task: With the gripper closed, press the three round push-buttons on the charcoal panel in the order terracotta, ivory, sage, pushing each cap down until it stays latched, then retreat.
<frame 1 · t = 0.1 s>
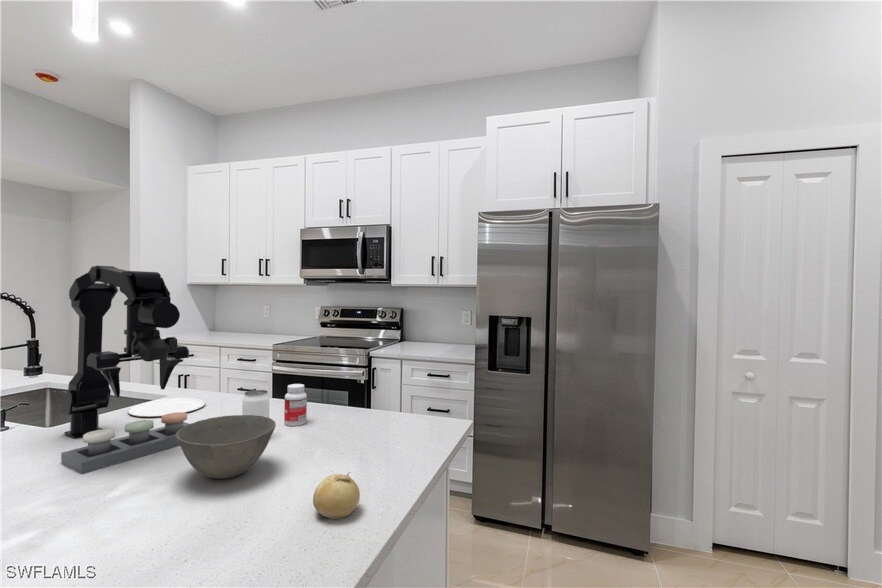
hand: (140, 392, 98), 15 cm above the counter, fingers open, 9 cm apart
onion: (336, 513, 75), on the counter
sage button: (139, 432, 101), point 4 cm above the counter, slide at 0.0 cm
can: (255, 438, 111), on the counter
bowl: (227, 475, 89), on the counter
plate: (168, 410, 135), on the counter
panel: (139, 449, 101), on the counter
terracotta button: (174, 423, 108), point 4 cm above the counter, slide at 0.0 cm
pill bottle: (295, 423, 123), on the counter
ivory button: (99, 442, 94), point 4 cm above the counter, slide at 0.0 cm
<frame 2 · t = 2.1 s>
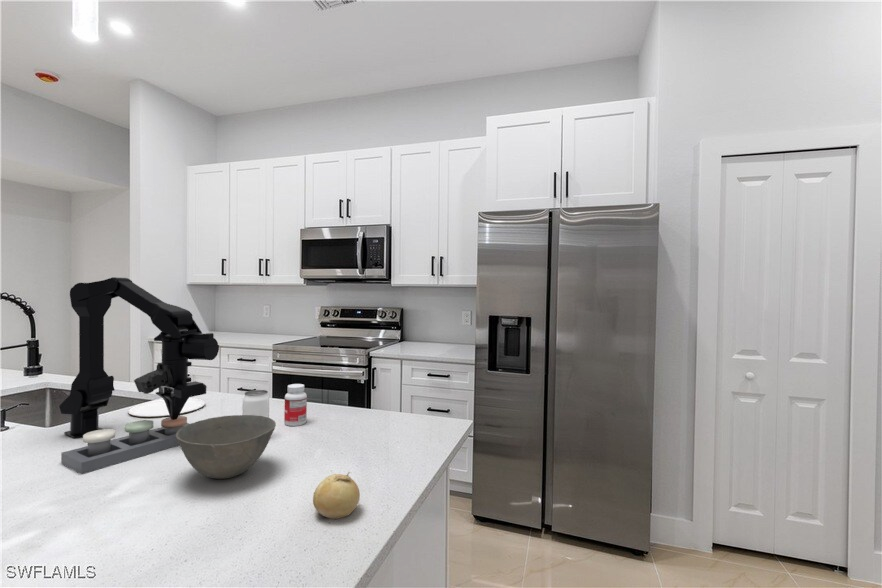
hand: (174, 419, 108), 5 cm above the counter, fingers closed, pressing on terracotta button
terracotta button: (174, 427, 108), point 3 cm above the counter, slide at 1.0 cm, touching gripper
everything else where it was.
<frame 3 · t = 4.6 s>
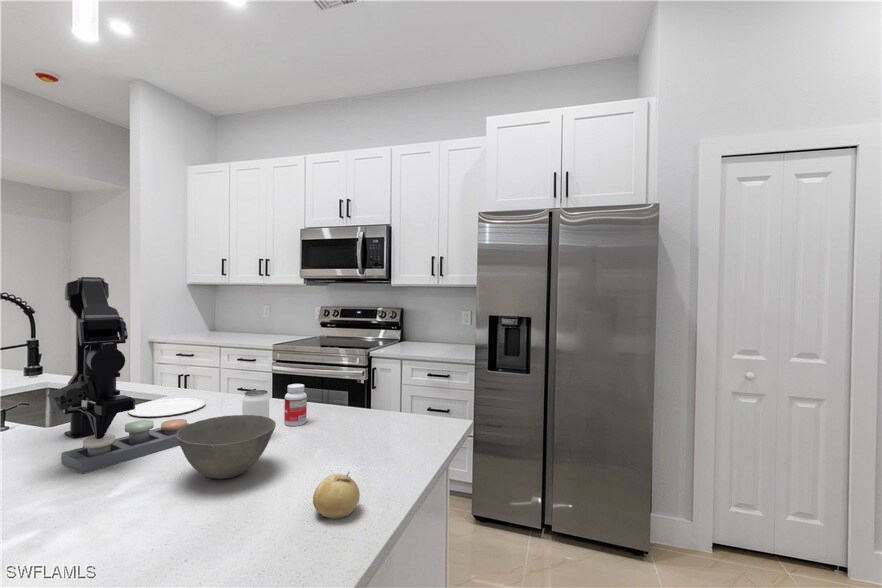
hand: (99, 438, 94), 5 cm above the counter, fingers closed, pressing on ivory button
terracotta button: (174, 430, 108), point 2 cm above the counter, slide at 1.8 cm
ivory button: (99, 447, 94), point 3 cm above the counter, slide at 1.2 cm, touching gripper
everything else where it was.
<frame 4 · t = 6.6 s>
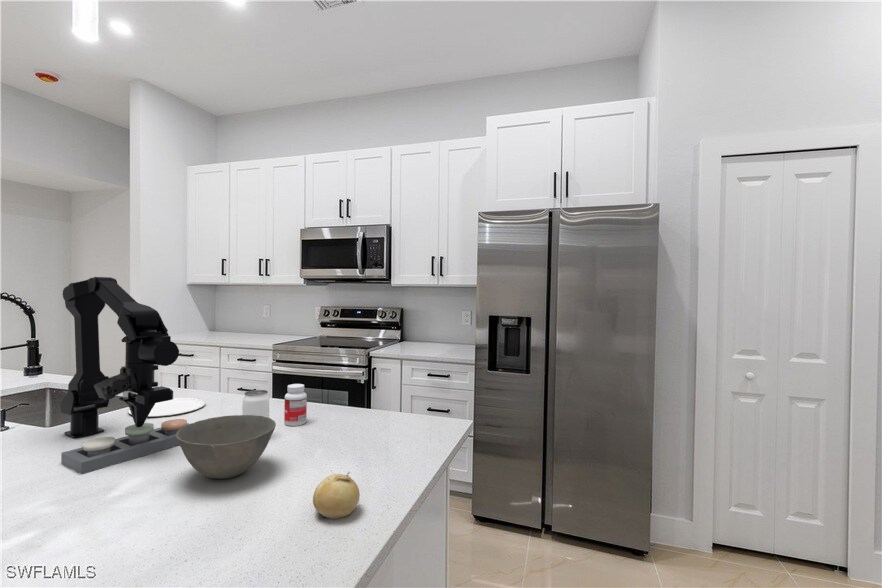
hand: (139, 426, 101), 5 cm above the counter, fingers closed, pressing on sage button
sage button: (139, 435, 101), point 3 cm above the counter, slide at 0.7 cm, touching gripper
ivory button: (99, 450, 94), point 2 cm above the counter, slide at 1.8 cm
everything else where it was.
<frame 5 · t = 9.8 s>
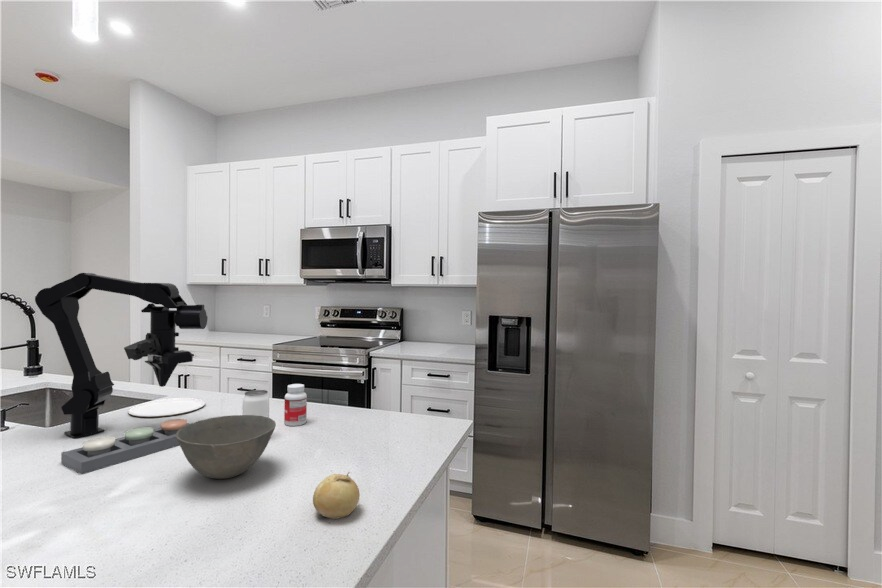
hand: (162, 386, 115), 12 cm above the counter, fingers closed
sage button: (139, 439, 101), point 2 cm above the counter, slide at 1.8 cm
everything else where it was.
at the end: terracotta button slide at 1.8 cm; ivory button slide at 1.8 cm; sage button slide at 1.8 cm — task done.
